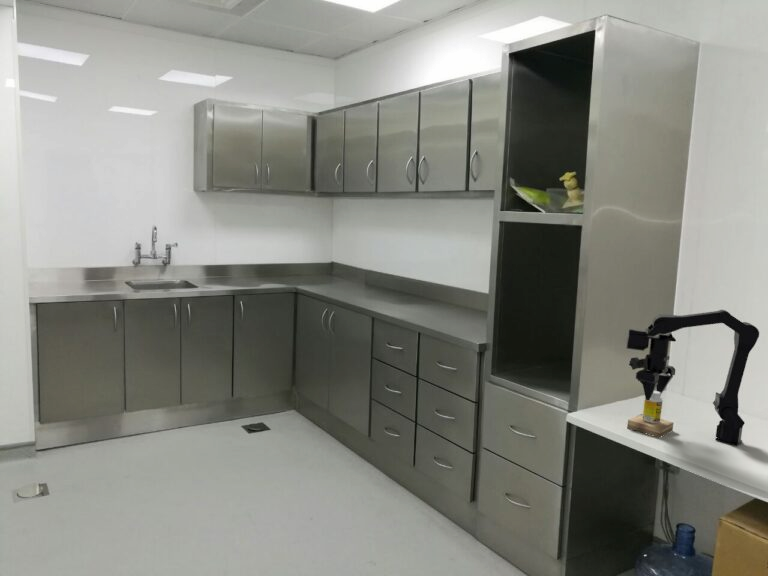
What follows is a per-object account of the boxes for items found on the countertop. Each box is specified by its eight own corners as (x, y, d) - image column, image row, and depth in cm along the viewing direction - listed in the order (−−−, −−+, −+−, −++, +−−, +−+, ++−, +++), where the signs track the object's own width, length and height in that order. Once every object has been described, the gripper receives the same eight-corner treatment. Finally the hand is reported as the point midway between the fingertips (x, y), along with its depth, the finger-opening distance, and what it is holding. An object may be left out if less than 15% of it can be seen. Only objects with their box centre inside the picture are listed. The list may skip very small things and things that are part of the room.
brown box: (672, 430, 215) (673, 422, 215) (659, 437, 207) (660, 429, 207) (640, 422, 223) (641, 413, 222) (627, 428, 215) (628, 419, 214)
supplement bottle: (655, 424, 211) (659, 395, 209) (639, 420, 215) (642, 391, 213) (662, 421, 214) (666, 392, 213) (646, 417, 218) (649, 388, 217)
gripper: (646, 344, 224) (641, 387, 226) (623, 350, 211) (617, 396, 213) (678, 351, 216) (672, 395, 218) (656, 357, 203) (651, 404, 205)
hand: (653, 397), depth 214 cm, fingers open, 9 cm apart
